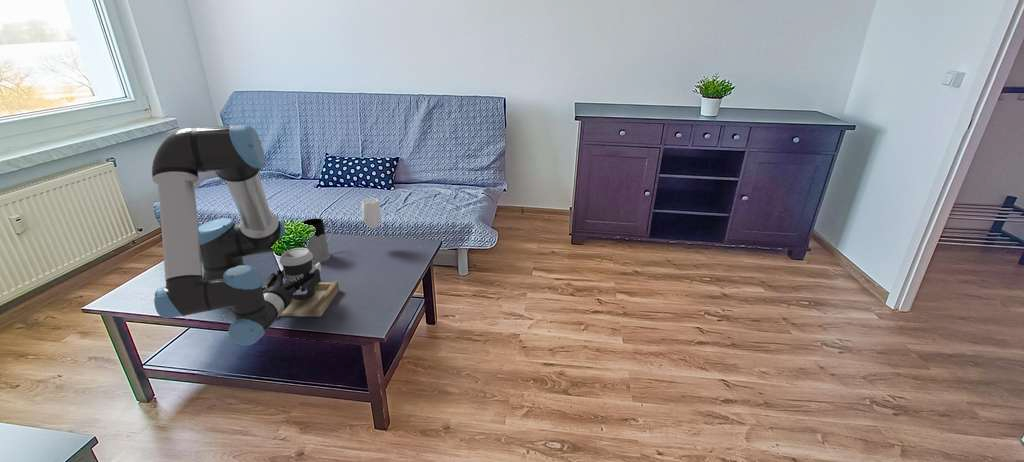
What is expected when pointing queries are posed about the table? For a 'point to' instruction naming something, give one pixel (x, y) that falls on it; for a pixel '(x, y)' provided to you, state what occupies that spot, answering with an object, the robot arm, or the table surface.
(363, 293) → the table surface
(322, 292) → the tray
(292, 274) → the coffee cup
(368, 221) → the cup
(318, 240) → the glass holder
